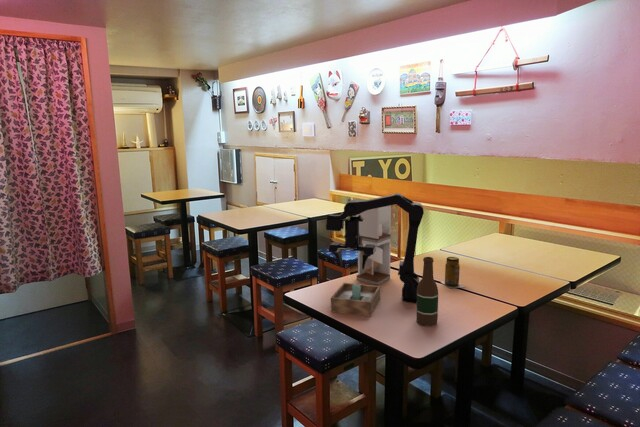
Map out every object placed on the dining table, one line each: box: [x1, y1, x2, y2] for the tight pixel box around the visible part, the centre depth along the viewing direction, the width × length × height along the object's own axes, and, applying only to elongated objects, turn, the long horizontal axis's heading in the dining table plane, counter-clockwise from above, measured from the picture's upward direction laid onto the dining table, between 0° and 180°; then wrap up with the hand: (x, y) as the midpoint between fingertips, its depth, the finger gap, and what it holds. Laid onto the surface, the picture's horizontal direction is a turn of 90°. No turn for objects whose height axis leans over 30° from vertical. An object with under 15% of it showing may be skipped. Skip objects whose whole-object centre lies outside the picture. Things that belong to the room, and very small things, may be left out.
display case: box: [355, 205, 392, 286], centre depth 203 cm, size 11×11×35 cm
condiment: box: [440, 256, 465, 289], centre depth 196 cm, size 7×8×12 cm
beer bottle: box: [415, 256, 439, 327], centre depth 158 cm, size 8×8×24 cm
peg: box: [352, 285, 361, 300], centre depth 176 cm, size 3×3×8 cm
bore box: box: [330, 282, 381, 317], centre depth 176 cm, size 16×18×6 cm
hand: (352, 268), depth 184 cm, fingers open, 9 cm apart
